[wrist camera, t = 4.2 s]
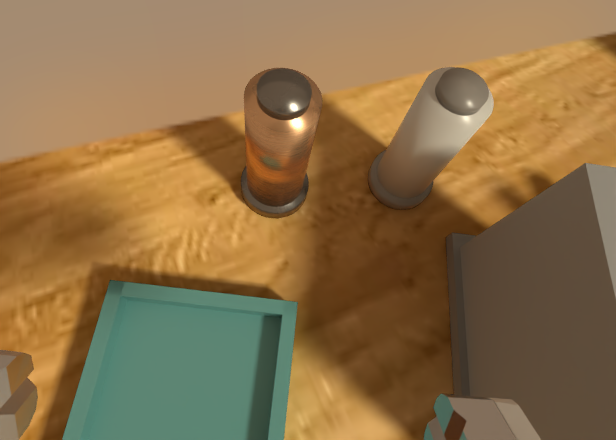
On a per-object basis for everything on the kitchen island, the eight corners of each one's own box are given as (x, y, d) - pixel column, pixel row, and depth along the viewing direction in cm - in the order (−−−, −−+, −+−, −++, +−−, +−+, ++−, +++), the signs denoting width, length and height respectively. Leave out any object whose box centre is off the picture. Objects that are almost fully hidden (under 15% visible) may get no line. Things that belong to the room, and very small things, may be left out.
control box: (538, 250, 28) (717, 164, 17) (578, 518, 22) (900, 650, 11) (445, 237, 28) (570, 141, 17) (459, 508, 21) (674, 637, 11)
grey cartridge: (426, 159, 30) (502, 60, 21) (428, 213, 28) (512, 131, 19) (368, 151, 30) (420, 46, 21) (366, 205, 28) (422, 116, 19)
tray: (294, 308, 25) (297, 302, 23) (265, 587, 19) (266, 608, 17) (121, 288, 24) (110, 279, 22) (39, 573, 18) (15, 594, 16)
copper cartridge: (309, 165, 29) (335, 61, 20) (303, 222, 27) (329, 137, 18) (246, 156, 28) (243, 45, 19) (236, 213, 27) (226, 122, 17)
